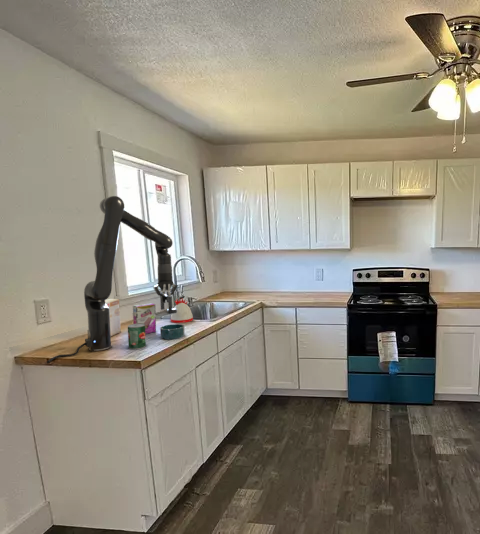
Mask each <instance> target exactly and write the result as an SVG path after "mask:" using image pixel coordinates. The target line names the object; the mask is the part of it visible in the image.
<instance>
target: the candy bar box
mask: <svg viewBox="0 0 480 534" xmlns="http://www.w3.org/2000/svg"><path fill="white" fill-rule="evenodd" d="M156 315H157V313H156V304H155V303H145V304H144V303H143V304H135V305H132V324H137V323H143V324H145V335H147V334H151V333H156V332H157V319H156V318H157V317H156Z"/></svg>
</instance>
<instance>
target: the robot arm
mask: <svg viewBox="0 0 480 534" xmlns="http://www.w3.org/2000/svg"><path fill="white" fill-rule="evenodd" d="M99 209H100V211H101V212H102V213H103V214H104V217H103V222H102V225H101V228H100V230H99V232H98V234H97V237H96V239H95V244H94V249H93V250H94V252H93V256H94V262H95V266H96V272H95V273H96V274H95V279H94V280H91V281H89V282H88V283H86V284H85V287H84V290H83V293H84V294H83V297H84V305H85V306H84V307H85V310H86V312H87V327H88V329H87V330H86V331H87V338H85V339H84V342H83V343H82V344H80V345H79V346H78V347H77V349H76V350H75V352H73V353H70V354H69V353H68V354H67V353H65V354H64V353H63V354H58V355H55V356H53V357H52V358H49V359H48V360H47V361H46V363H47V364H49V363H51V362H52V361H54V360H56V359H58V358H66V357H73V356H77V355H78V354H79V352H80V350H81V349H82V348H83V347H87V349H88V350H89V351H90V353H91V352H103V351H106V350H109V349H111V348H112V336H111V334H110V313H109V307H108V306H107V305H106V303H105V300H106V299H109V298H110V296H111V294H112V288H113V272H114V267H115V260H116V254H117V249H118V240H119V236H120V235H119V234H120V226H121V223H122V224H123V225H125V226H127V227H129V228H130V229H132V230H133V231H135V232H137V233H138V234H139V235H141V236H142V237H144V238H145V239H147V240H149V241H152V242H153V243H154V247H155V248H154V249H155V252H156V255H157V283H156V285H154V286H152V288H153V290H154V291H155V293H156V294H157V296H159V297H160V296H161V298H162V302H163V303H164V304H166V303H168V301H167V300H165V295H169V296H172V295H174V294H175V292H176V290H177V288H178V284H175V282H174V281H173V267H172V266H173V265H172V255H171V253H170V252H169V249H170V248H172V246H173V240H172V238H171V237H170V236H169V235H167V234H166V233H164V232H162V231H160V230H158V229H156V228H155V227H154V226H153V225H151V224H150V223H148V222H147V221H145V220H143V219H141V218H139V217H137V216H135V215H133V214H131V213H130V212H128V211H127V210H126V209H125V202H124V201H123V199H122V198H121V197H120V196H117V195H110V196H107V197H105V198H103V199H102V200H101V201H100V202H99ZM165 293H166V294H165Z"/></svg>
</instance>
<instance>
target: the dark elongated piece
mask: <svg viewBox="0 0 480 534" xmlns="http://www.w3.org/2000/svg"><path fill="white" fill-rule="evenodd" d="M159 297H160V299H159V300H160V310H161V311H162V310H163V311H164V310H165V303H163V302H162V298H161V296H159ZM165 301H166V302H167V301H168V302H167V304H168V305H167V306H168V308H167V309H166V313H167V314H168V315H170V314H174V313H177V309H176V308H174V307H173V296H172V295H171V296H169V295H167V294H165Z"/></svg>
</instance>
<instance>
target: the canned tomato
mask: <svg viewBox="0 0 480 534" xmlns="http://www.w3.org/2000/svg"><path fill="white" fill-rule="evenodd" d="M146 338H147V337H146V334H145V324H143V323H137V324H133V323H132V324H128V325H127V343H128V349H129V350H140V349H144V348H146V347H147V343H146V342H147V339H146Z"/></svg>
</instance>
